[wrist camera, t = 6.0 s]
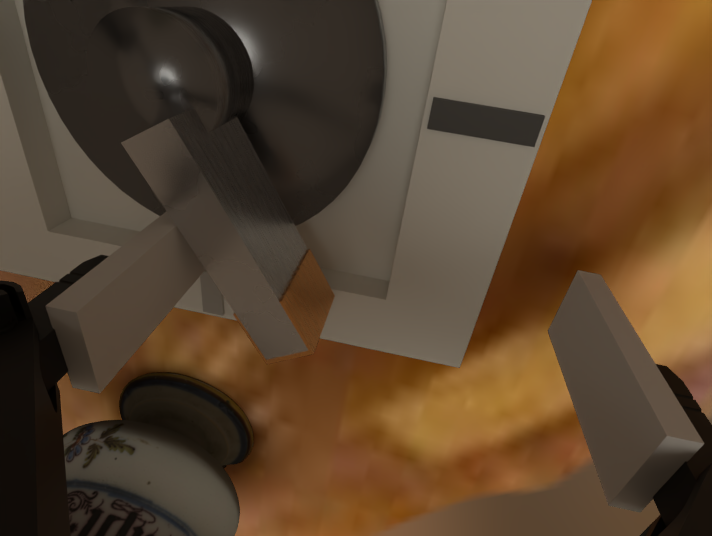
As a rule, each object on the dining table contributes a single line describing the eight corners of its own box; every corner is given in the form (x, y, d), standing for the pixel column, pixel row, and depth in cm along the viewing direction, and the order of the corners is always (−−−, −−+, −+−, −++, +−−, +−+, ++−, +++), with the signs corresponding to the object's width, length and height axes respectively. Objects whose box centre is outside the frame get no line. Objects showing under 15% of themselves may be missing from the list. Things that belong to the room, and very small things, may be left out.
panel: (-185, -422, 12) (-340, -528, 10) (686, -350, 10) (760, -458, 8) (33, 243, 24) (-13, 270, 22) (457, 330, 22) (459, 370, 20)
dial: (-23, -38, 16) (-224, -56, 11) (278, -290, 11) (159, -506, 6) (215, 308, 22) (156, 389, 18) (460, 237, 18) (467, 319, 13)
